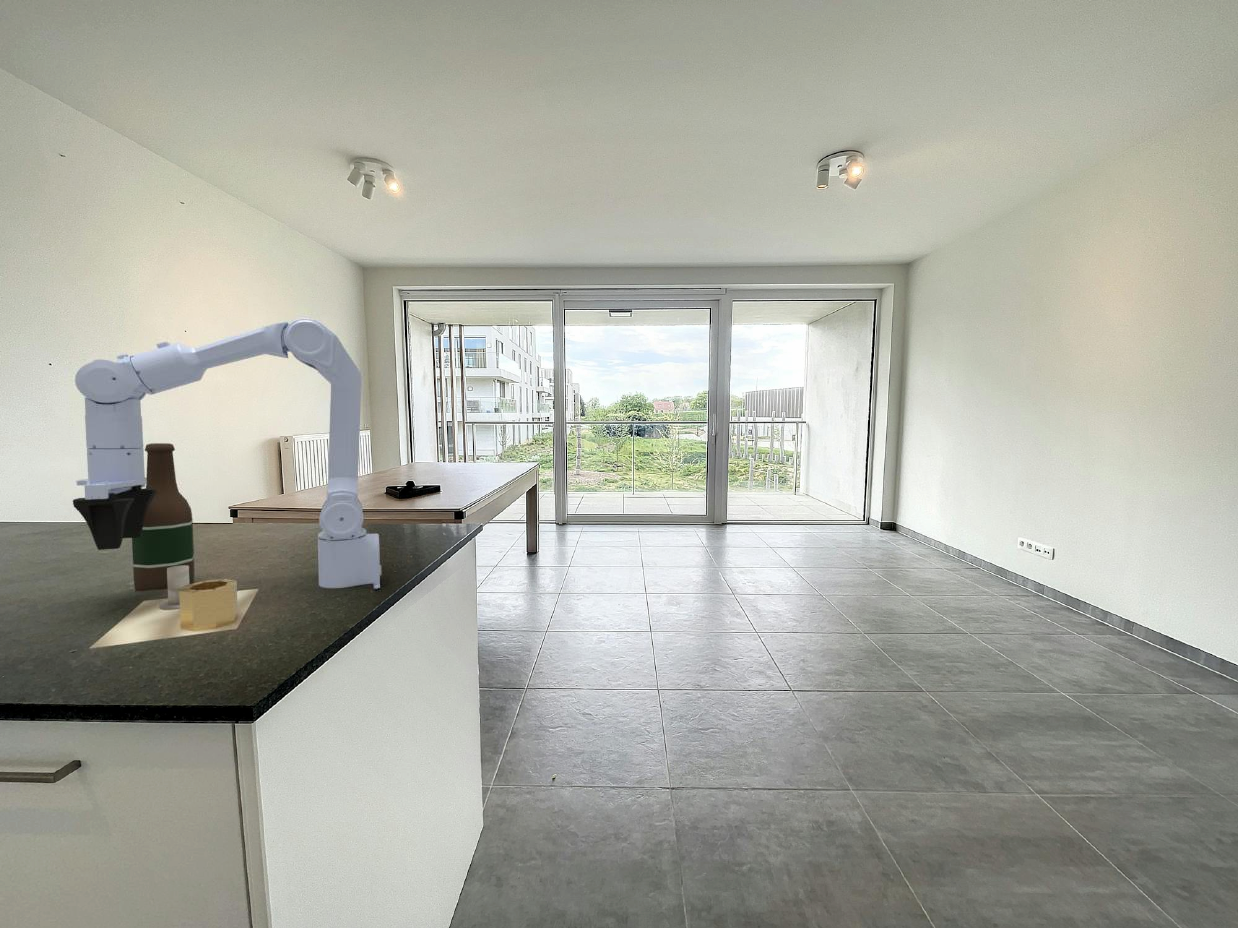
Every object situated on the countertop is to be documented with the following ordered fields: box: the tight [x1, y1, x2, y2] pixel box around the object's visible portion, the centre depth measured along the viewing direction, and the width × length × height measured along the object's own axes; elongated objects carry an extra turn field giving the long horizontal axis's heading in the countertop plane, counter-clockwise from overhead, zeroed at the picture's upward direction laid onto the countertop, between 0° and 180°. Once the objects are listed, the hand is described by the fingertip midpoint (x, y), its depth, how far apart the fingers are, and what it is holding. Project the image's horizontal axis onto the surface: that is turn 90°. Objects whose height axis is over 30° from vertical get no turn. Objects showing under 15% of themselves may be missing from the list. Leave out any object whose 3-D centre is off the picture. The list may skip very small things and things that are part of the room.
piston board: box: [88, 565, 260, 650], centre depth 70 cm, size 14×18×6 cm
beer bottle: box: [131, 442, 195, 592], centre depth 83 cm, size 8×8×24 cm
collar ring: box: [179, 578, 238, 631], centre depth 68 cm, size 6×6×5 cm
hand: (120, 542), depth 73 cm, fingers open, 7 cm apart
